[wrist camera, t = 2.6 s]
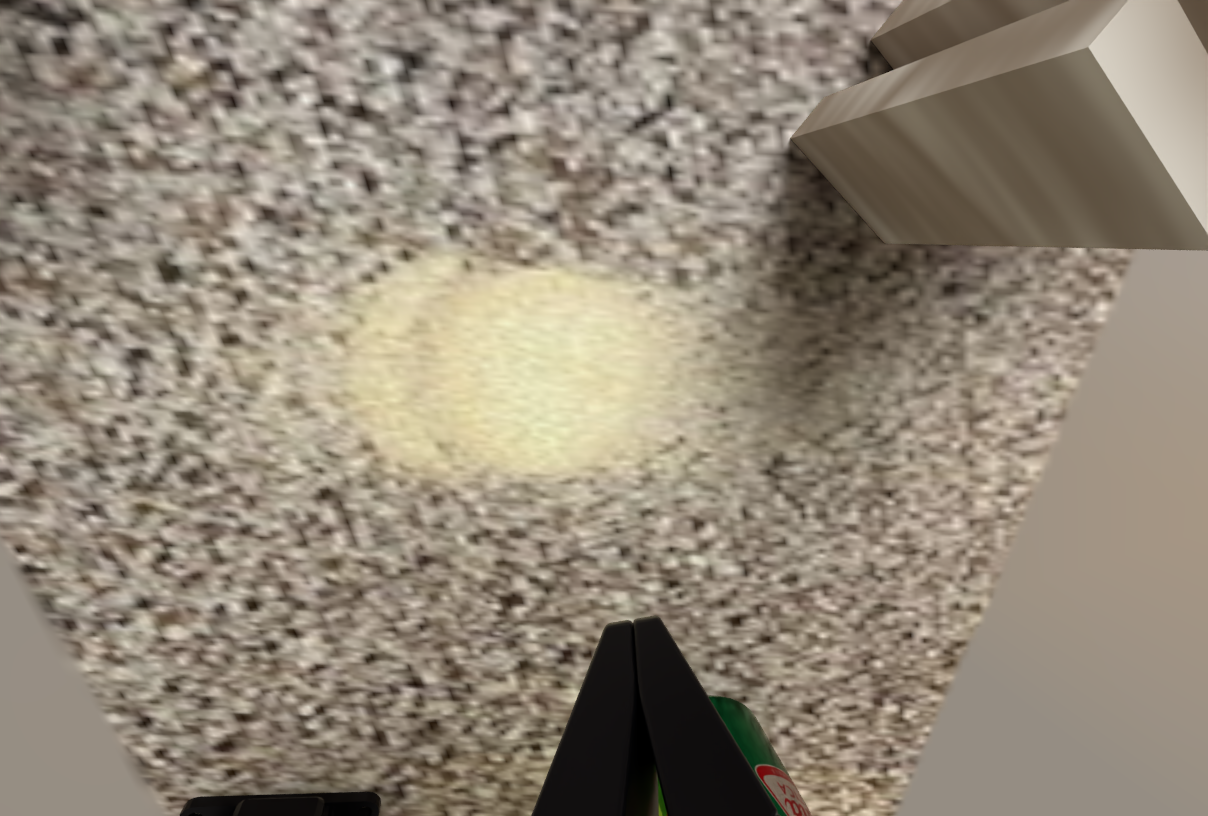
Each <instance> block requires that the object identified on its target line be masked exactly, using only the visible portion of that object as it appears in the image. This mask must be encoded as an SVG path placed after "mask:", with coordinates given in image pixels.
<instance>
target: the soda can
mask: <svg viewBox="0 0 1208 816" xmlns="http://www.w3.org/2000/svg"><path fill="white" fill-rule="evenodd" d="M708 697H709V699H710V700H711V702H712V704H713V705H714V707H715V708H716V710H717V712H718V713H719V715H720V717H721V718H722V720H723V722H724V723H725V725H726V727H727V728H728V730H729V731H730V733H731V735H732V736H733V738H734V740H735V741H736V743H737V745H738V746H739V748H740V749H741V751H742V753H743V754H744V756H745V758H746V759H747V761H748V763H749V764H750V766H751V767H752V769H753V771H754V772H755V774H756V776H757V777H758V779H759V781H760V782H761V784H762V786H763V787H764V789H765V790H766V792H767V794H768V795H769V797H770V799H771V800H772V802H773V804H774V805H775V807H776V808H777V812H778V814H779V815H781V816H812V814H811V812H810V811H809V809H808V807H807V805H806V804H805V802H804V800H803V798H802V797H801V795H800V793H799V791H798V790H797V788H796V786H795V785H794V783H793V781H792V779H791V778H790V776H789V774H788V772H787V771H786V769H785V767H784V766H783V764H782V762H781V760H780V759H779V757H778V755H777V753H776V752H775V750H774V748H773V746H772V745H771V743H770V741H769V740H768V738H767V736H766V734H765V733H764V731H763V729H762V727H761V726H760V724H759V722H758V720H757V719H756V717H755V716H754V714H753V713H752V712H751V710H749V709H748V708H747V707H746V706H745V705H743V704H742V703H740V702H738V701H736V700H733V699H731V698H726V697H721V696H711V695H708ZM657 776H658V775H657ZM658 803H659V806H660V809H661V812H662V815H663V816H667V812H666V808H665V803H664V799H663V795H662V791H661V787H660V783H659V779H658Z"/></svg>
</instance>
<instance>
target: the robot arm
mask: <svg viewBox="0 0 1208 816" xmlns="http://www.w3.org/2000/svg"><path fill="white" fill-rule="evenodd" d="M657 775H658V776H657ZM658 779H659V783H660V787H661V791H662V795H663V799H664V803H665V808H666V812H667V816H781V815H779V814H778V812H777V808H776V807H775V805H774V804H773V802H772V800H771V799H770V797H769V795H768V794H767V792H766V790H765V789H764V787H763V786H762V784H761V782H760V781H759V779H758V777H757V776H756V774H755V772H754V771H753V769H752V767H751V766H750V764H749V763H748V761H747V759H746V758H745V756H744V754H743V753H742V751H741V749H740V748H739V746H738V745H737V743H736V741H735V740H734V738H733V736H732V735H731V733H730V731H729V730H728V728H727V727H726V725H725V723H724V722H723V720H722V718H721V717H720V715H719V713H718V712H717V710H716V708H715V707H714V705H713V704H712V702H711V700H710V699H709V697H708V695H707V694H706V692H705V690H704V689H703V687H702V686H701V684H700V682H699V681H698V679H697V677H696V676H695V674H694V672H693V671H692V669H691V667H690V666H689V664H688V663H687V661H686V659H685V658H684V656H683V654H682V653H681V651H680V649H679V648H678V646H677V645H676V643H675V641H674V640H673V638H672V636H671V635H670V633H669V631H668V630H667V628H666V627H665V625H664V623H663V622H662V620H661V619H660V618H659V617H658V616H649V617H643V618H637V619H635V620H634V622H633V623H632V622H631V621H629V620H625V621H619V622H613V623H609V624H607V625H606V627H605V628H604V630H603V633H602V636H601V638H600V641H599V643H598V646H597V648H596V651H595V653H594V656H593V659H592V661H591V664H590V666H589V669H588V671H587V674H586V677H585V679H584V682H583V684H582V687H581V689H580V692H579V695H578V697H577V700H576V702H575V705H574V707H573V710H572V713H571V715H570V718H569V720H568V723H567V725H566V728H565V731H564V733H563V736H562V738H561V741H560V743H559V746H558V749H557V751H556V754H555V756H554V759H553V761H552V764H551V767H550V769H549V772H548V774H547V777H546V779H545V782H544V785H543V787H542V790H541V792H540V795H539V797H538V800H537V803H536V805H535V808H534V810H533V813H532V815H531V816H659V804H658ZM380 804H381V801H380V797H379V796H378V795H377V794H375V793H373V792H345V793H312V794H279V795H246V796H213V797H197V798H193V799H191V800H189V801H188V802H187V803H186V804H185V806H184V808H183V810H182V812H181V814H180V816H379V813H380ZM362 807H369V808H362ZM195 813H200V814H195Z"/></svg>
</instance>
